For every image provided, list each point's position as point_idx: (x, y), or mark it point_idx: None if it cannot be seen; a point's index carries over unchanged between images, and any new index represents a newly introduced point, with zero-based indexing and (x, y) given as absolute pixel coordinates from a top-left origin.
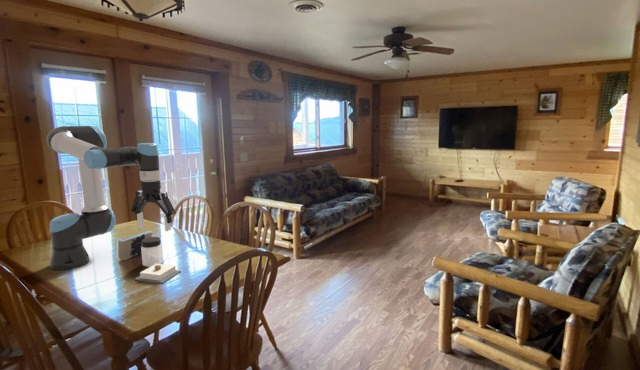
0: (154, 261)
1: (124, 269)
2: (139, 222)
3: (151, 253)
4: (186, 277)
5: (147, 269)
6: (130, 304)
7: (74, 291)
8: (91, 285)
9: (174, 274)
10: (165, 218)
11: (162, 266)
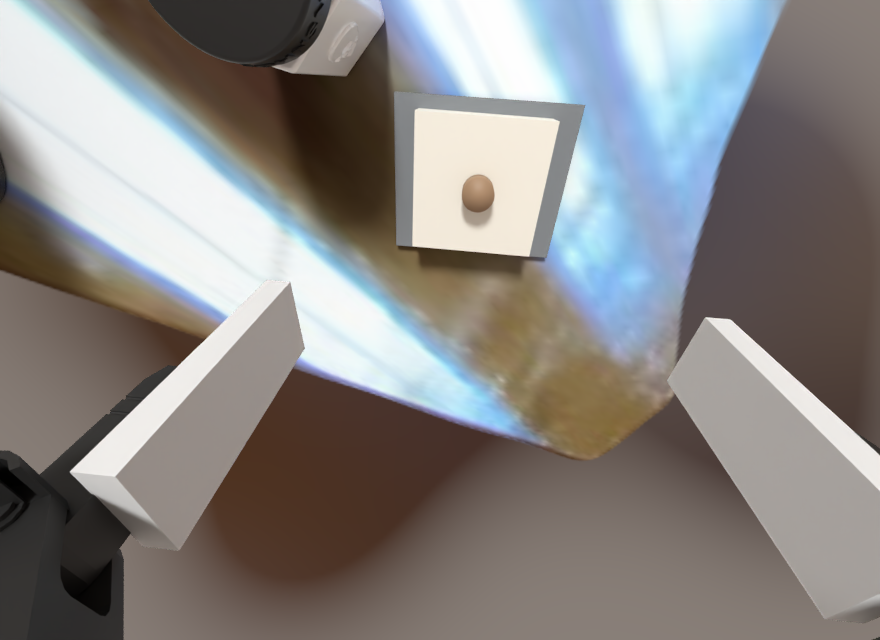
0: (358, 44)
1: (242, 139)
2: (264, 398)
3: (329, 52)
4: (638, 172)
5: (422, 205)
6: (508, 385)
7: None
8: None
9: (565, 166)
10: (814, 565)
11: (482, 148)
